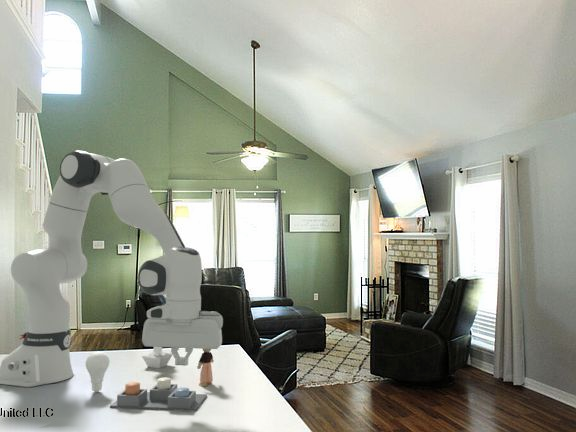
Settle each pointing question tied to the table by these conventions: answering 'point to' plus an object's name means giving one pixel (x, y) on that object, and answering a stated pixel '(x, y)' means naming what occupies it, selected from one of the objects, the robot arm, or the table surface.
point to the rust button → (132, 388)
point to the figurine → (157, 358)
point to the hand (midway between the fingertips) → (181, 364)
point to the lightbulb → (97, 369)
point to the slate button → (182, 392)
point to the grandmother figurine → (206, 368)
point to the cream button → (164, 383)
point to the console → (159, 400)
